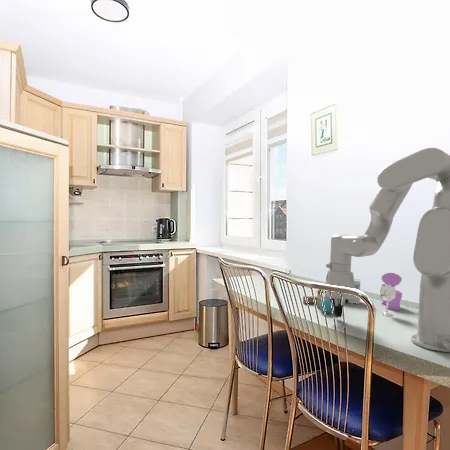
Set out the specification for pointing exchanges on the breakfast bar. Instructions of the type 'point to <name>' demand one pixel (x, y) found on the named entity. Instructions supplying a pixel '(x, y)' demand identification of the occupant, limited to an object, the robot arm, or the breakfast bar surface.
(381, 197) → the robot arm
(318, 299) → the rear left pin
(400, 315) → the breakfast bar surface
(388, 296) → the wineglass
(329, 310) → the ball
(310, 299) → the back rail
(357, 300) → the light bulb box
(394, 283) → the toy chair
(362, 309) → the breakfast bar surface
